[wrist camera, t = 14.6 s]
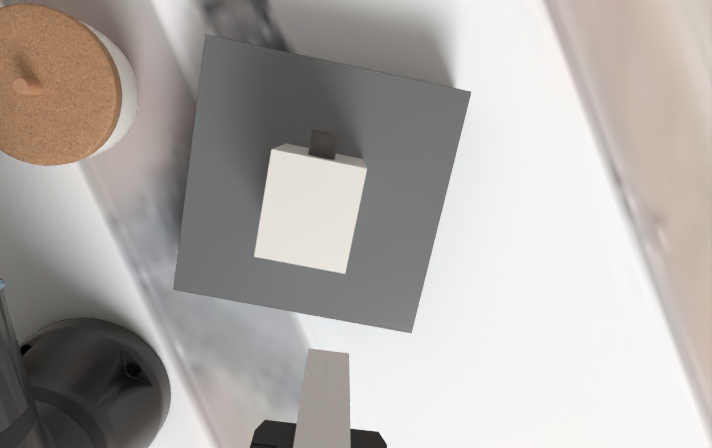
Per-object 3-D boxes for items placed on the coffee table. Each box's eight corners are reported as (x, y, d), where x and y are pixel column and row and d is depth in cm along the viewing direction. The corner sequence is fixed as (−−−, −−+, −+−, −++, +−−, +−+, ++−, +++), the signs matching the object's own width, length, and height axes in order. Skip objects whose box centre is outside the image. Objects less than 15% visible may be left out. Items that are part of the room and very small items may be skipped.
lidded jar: (35, 12, 38) (-65, -23, 29) (167, 42, 38) (111, 18, 29) (27, 142, 40) (-68, 149, 31) (151, 168, 41) (95, 183, 32)
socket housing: (193, 270, 43) (173, 289, 38) (223, 45, 39) (205, 34, 34) (404, 309, 44) (411, 333, 39) (456, 95, 40) (471, 91, 35)
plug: (277, 222, 40) (254, 256, 30) (295, 122, 38) (275, 123, 28) (345, 235, 40) (345, 273, 30) (366, 136, 39) (372, 143, 28)
